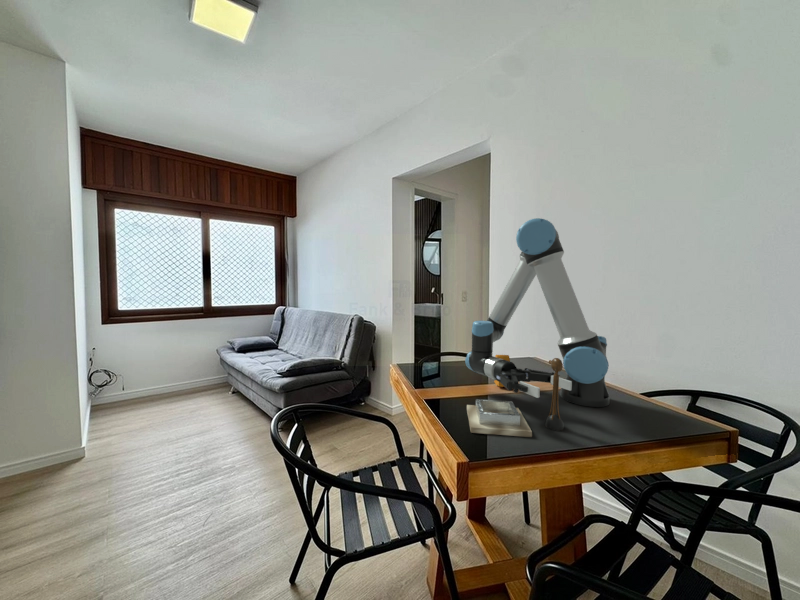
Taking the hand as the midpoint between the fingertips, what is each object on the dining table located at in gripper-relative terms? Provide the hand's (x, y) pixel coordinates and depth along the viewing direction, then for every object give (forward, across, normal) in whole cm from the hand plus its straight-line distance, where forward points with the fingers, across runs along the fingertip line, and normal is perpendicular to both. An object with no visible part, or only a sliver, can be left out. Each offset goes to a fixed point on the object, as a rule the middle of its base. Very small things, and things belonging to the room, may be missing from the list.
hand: (555, 389), depth 92 cm
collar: (-10, +13, -9) cm, 18 cm away
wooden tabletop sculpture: (0, 0, -11) cm, 11 cm away
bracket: (-34, -15, -11) cm, 39 cm away
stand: (-10, +13, -11) cm, 19 cm away
